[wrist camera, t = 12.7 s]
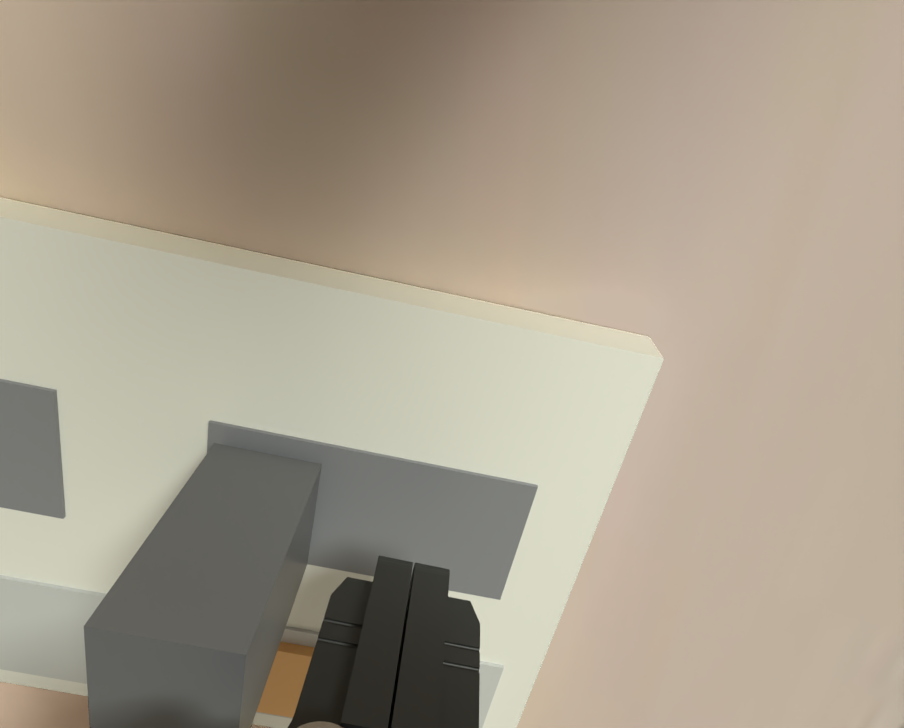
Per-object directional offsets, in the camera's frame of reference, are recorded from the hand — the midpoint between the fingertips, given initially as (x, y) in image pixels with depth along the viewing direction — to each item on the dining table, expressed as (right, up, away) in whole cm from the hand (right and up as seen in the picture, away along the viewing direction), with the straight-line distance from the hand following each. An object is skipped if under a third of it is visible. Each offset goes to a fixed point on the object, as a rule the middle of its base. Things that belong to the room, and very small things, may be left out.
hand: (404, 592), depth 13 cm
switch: (-3, +1, +2) cm, 4 cm away
